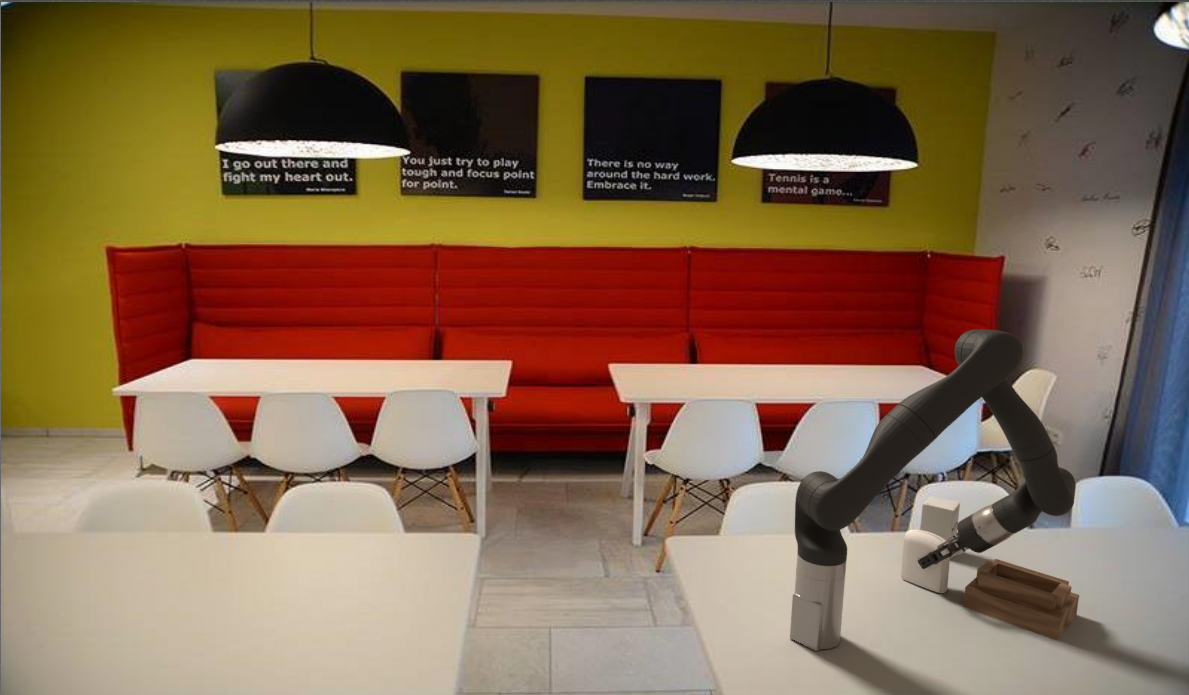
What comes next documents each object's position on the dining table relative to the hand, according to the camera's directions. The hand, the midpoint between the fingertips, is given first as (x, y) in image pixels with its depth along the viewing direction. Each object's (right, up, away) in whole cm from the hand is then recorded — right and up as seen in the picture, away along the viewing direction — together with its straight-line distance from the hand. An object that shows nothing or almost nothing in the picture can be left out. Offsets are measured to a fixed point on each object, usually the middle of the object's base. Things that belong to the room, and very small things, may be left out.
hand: (925, 561), depth 178 cm
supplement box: (+11, -3, +19) cm, 22 cm away
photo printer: (0, -6, +1) cm, 6 cm away
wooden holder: (+16, -8, -10) cm, 20 cm away
